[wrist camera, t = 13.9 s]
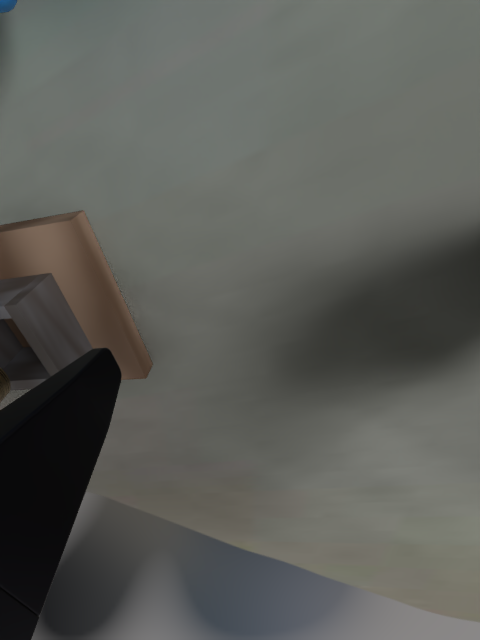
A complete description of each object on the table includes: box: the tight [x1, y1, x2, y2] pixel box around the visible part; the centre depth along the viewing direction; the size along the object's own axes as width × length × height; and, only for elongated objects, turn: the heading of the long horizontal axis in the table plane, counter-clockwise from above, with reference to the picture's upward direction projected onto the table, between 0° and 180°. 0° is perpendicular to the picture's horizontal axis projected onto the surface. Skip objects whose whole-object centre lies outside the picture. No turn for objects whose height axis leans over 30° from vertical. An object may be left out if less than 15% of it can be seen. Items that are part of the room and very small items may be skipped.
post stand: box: [0, 210, 153, 390], centre depth 25 cm, size 12×12×5 cm
